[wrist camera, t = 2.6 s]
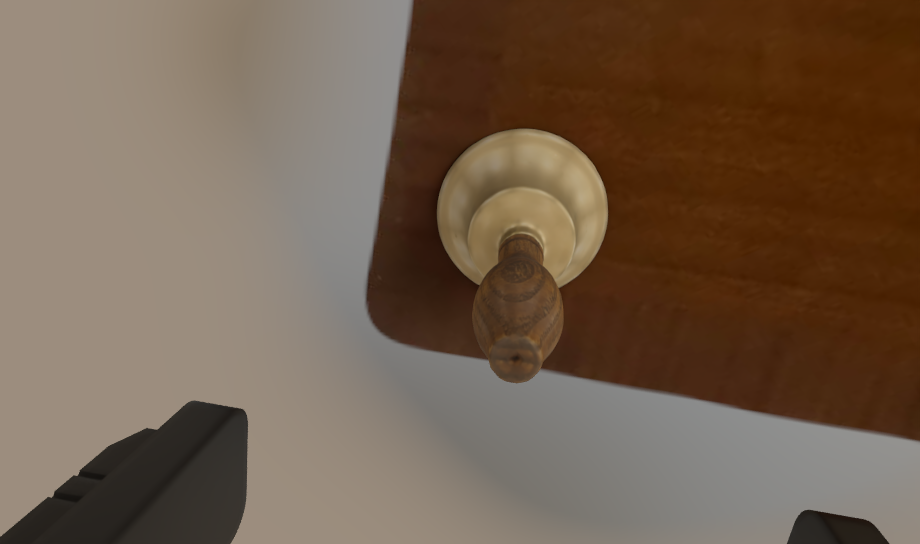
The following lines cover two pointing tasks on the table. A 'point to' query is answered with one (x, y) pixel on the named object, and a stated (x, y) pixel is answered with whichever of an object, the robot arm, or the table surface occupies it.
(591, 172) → the hand bell
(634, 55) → the table surface
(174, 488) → the robot arm
